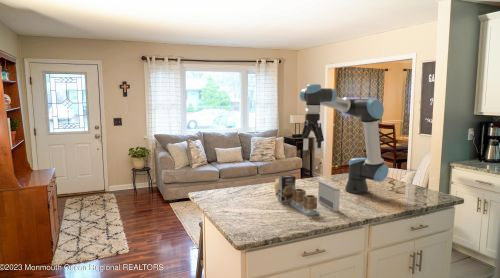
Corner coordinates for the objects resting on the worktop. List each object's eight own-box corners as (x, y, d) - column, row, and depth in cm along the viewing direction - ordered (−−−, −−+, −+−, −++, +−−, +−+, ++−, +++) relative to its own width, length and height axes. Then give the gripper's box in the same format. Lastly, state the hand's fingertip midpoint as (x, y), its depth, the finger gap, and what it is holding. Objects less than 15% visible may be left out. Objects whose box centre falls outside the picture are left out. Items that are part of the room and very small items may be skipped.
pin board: (302, 203, 205) (302, 194, 204) (319, 214, 186) (319, 204, 185) (290, 204, 202) (290, 195, 201) (306, 215, 183) (306, 206, 183)
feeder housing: (322, 201, 208) (323, 180, 206) (338, 210, 191) (339, 188, 190) (317, 202, 207) (318, 181, 205) (334, 211, 190) (334, 189, 188)
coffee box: (281, 203, 204) (282, 177, 202) (277, 200, 210) (278, 175, 208) (295, 201, 207) (295, 176, 205) (290, 198, 213) (291, 174, 211)
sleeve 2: (311, 208, 191) (312, 194, 190) (316, 211, 186) (317, 197, 185) (303, 209, 189) (303, 195, 188) (307, 212, 184) (308, 198, 183)
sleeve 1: (300, 201, 203) (301, 188, 202) (305, 204, 198) (305, 191, 197) (292, 202, 202) (293, 189, 201) (296, 205, 196) (297, 191, 195)
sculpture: (291, 190, 231) (291, 175, 229) (291, 196, 219) (291, 180, 218) (274, 190, 232) (274, 175, 231) (274, 195, 220) (274, 179, 219)
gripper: (296, 112, 191) (295, 148, 194) (318, 114, 168) (317, 156, 171) (307, 112, 194) (306, 148, 196) (331, 114, 170) (330, 155, 173)
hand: (311, 152), depth 183 cm, fingers open, 13 cm apart
